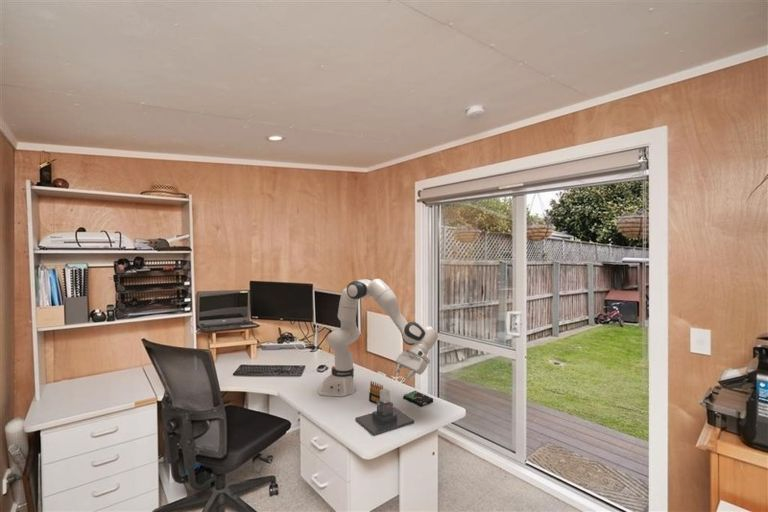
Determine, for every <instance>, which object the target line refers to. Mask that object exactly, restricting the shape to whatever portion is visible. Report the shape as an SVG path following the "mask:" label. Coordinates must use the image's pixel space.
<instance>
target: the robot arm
mask: <svg viewBox="0 0 768 512" xmlns="http://www.w3.org/2000/svg"><path fill="white" fill-rule="evenodd" d="M369 297H372V298H373V300H374V301H375V302H376V303H377V305H378V306H379V308H381V310H383V311H384V312H385V313H386V314H387V316H388V317H389V318H390V320H391V321H392V322H393V323H394V324H395V326H396V327H397V329H398V330H399V332H400V334H401V337H402V341H403V342H404V343H405V344H406V345H408V346H411V347H410V349H406V350H403V351H402V352H401V353H400V354H398V356H397V357H396V359H395V362H396V363H397V367H396V369H395V372H396V374H400V373H401V370H402V369H401V368H403V367H404V368H405V369H408V370H409V371H410V372H409V373H407V374H406V376H405V377H406V378H407V379H408V380H411V378H412V377H413V376H415V375H416V374H418V375H422V374H423V373H424V372H425V371H426V369H427V367H428V365H429V364H430V363H431V359H430V358H429V357H428V354H429V351H430V350H431V349H432V348H433V347H434V345H435V344H436V342H437V341H438V336H439V335H438V332H437V331H436V328H434V327H432V326H431V325H422V324H420V323H418V322H415V321H410V322H408V321H407V320H406V318H405V317H404V316H403V314H402V313H401V311H400V307H399V301H398V298H397V296H396V294H395V293H394V291H393V290H392V288H390V287H389V285H388V284H387V283H385V281H383V280H382V279H380V278H373V279H371V278H362V279H357V280H353V281H351V282H350V283H348V285H346V287H345V288H344V289H343V290H342V292H341V295H340V299H339V302H338V303H339V305H338V311H337V319H338V320H339V321H340V328H337V329H334V330H333V331H331V332H330V333H329V334H328V335H327V339H326V342H327V344H328V346H329V347H330V348H332V351H333V355H334V356H333V357H334V366H332V367H331V374H329V375H328V376H326V377H325V378H324V380H323V381H322V385H321V386H320V387H319V388H318V391H317V393H318V395H319V396H325V397H326V396H327V397H339V398H340V397H343V398H344V397H346V396H348V395H352V394H355V392H357V391H356V386H355V381H354V380H355V379H354V376H355V370H354V368H355V367H354V355H353V353H352V352H351V351H350V349H349V345H351V344H352V343H355V342H357V340H358V339H359V338H360V335H361V333H360V329H359V328H358V326H357V312H358V304H359V301H360V300H361V299H362V300H363V299H366V298H369Z"/></svg>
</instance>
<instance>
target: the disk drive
mask: <svg viewBox="0 0 768 512" xmlns="http://www.w3.org/2000/svg"><path fill="white" fill-rule="evenodd" d="M402 399H403V400H405V401H407V402H409V403H412V404H414V405H416V406H418V407H419V408H423V407H425V406H427V405H431V404H432V403H434V398H433V397H431V396H429V395H427V394H423V393H422V392H419V391H417V390H414V391H410V392H408V393H406V394H403V396H402Z"/></svg>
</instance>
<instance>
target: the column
mask: <svg viewBox="0 0 768 512" xmlns="http://www.w3.org/2000/svg"><path fill="white" fill-rule="evenodd" d="M390 400H391V390H390V389H388V388H383V389H382V390H380V403H381V404H383V405H386V404H389V403H390V402H391V401H390Z"/></svg>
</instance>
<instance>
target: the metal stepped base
mask: <svg viewBox="0 0 768 512" xmlns="http://www.w3.org/2000/svg"><path fill="white" fill-rule="evenodd" d="M354 419H355V422H357V423H358V425H360V427H362V428H363V427H364V428H363V429H365V430H366V431H367V432H368V433H369V434H370V435H371V436H372V437H375V436H379V435H382V434H384V433H385V434H386V433H388V432H391V431H394V430H397V429H400V428H404V427H406V426H411V425H413V424H415V419H413V418H412V417H410V416H409V415H407V414H406V413H404V411H401V410H400V409H399V408H397V407H395V406H394V403H393V402H391V401H390V403H389V404H386V405H383V404H381V403H380V401H377V404H376V410H375V411H372V412H371V413H367V414H364V415H361V416H356V417H355V418H354Z"/></svg>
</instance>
